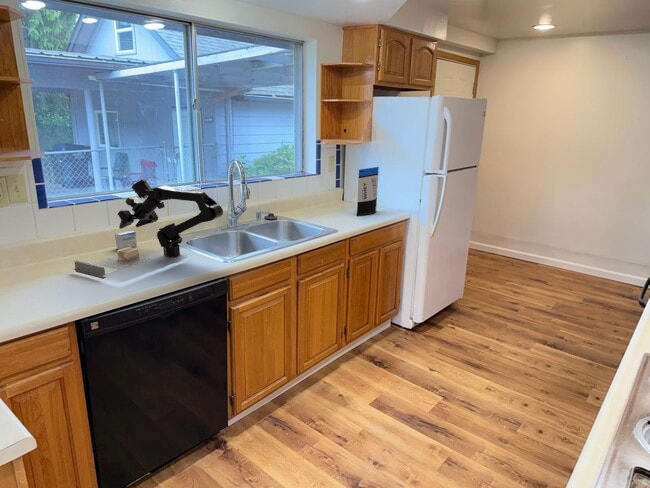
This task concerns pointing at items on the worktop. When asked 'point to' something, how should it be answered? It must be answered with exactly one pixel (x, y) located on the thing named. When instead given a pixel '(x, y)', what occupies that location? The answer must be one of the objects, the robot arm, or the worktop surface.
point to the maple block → (128, 254)
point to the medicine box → (126, 240)
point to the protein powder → (367, 191)
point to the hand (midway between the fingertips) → (128, 227)
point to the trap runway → (105, 266)
